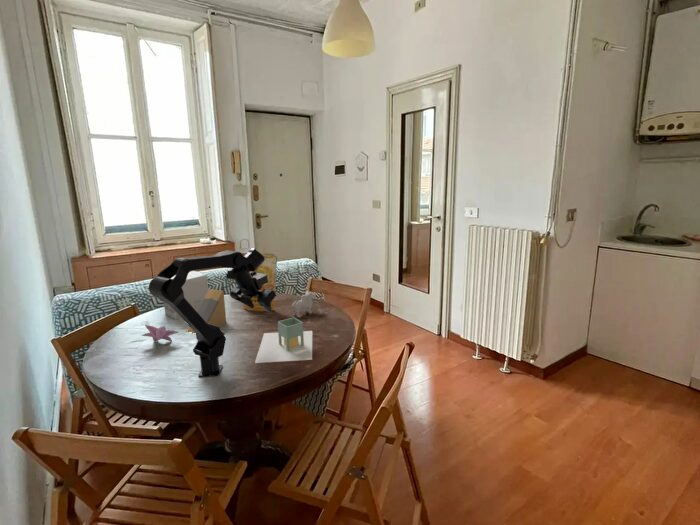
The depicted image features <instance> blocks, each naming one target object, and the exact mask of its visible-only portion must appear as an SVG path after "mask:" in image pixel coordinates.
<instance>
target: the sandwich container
mask: <svg viewBox="0 0 700 525" xmlns="http://www.w3.org/2000/svg"><path fill="white" fill-rule="evenodd" d="M197 313H198V314H199V315H200V316H201V317H202V318H203V319H204V321H205V322H206V323H209V324H212V325H215V326H218V327H220V326H221V324H222V325H223V324H225V323H226V322H227V317H226V316H227V315H226V302H225V293H224V290H219V289H212V288H208V292H207V294H206V296H205V298H204V300H203V302H202V304H201V306H200V308H199V310H198V312H197ZM187 331H188V332H187ZM187 331H186V332H187V333H189V332H192V333H191V334H193V333H195V332H194V331H193V329H192V328H191V327H190V326H189V327H188V328H187Z"/></svg>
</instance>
